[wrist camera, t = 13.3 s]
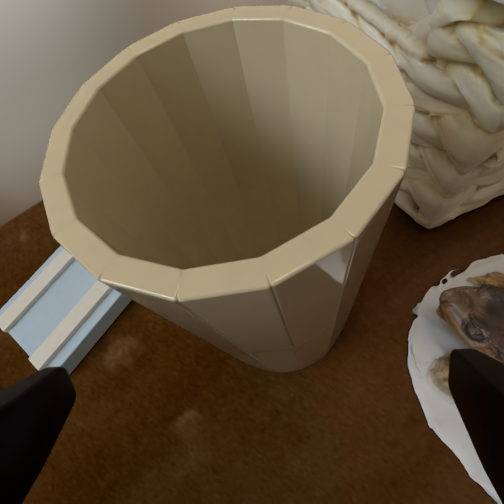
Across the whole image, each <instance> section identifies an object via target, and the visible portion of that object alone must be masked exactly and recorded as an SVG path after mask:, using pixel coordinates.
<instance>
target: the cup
mask: <svg viewBox="0 0 504 504" xmlns="http://www.w3.org/2000/svg"><path fill="white" fill-rule="evenodd" d="M415 110H416V109H415V103H414V100H413V98H412V96H411V94H410V92H409V89H408V87H407V85H406V83H405V81H404V78H403V76H402V74H401V72H400V70H399V68H398V65H397V63H396V61H395V59H394V57H393V55H392V54H391V53H390V51H388V50H387V49H386V48H384V47H383V46H382V45H380V44H379V43H378V42H376V41H375V40H374V39H372V38H371V37H369V36H368V35H367V34H365V33H364V32H363V31H361V30H360V29H359V28H357V27H356V26H355V25H353V24H352V23H351V22H349V21H346V20H345V19H341V18H338V17H334V16H330V15H326V14H323V13H319V12H315V11H312V10H308V9H304V8H300V7H297V6H293V7H292V6H291V5H278V6H236V7H235V8H234V7H231V8H227V9H223V10H219V11H215V12H212V13H207V14H203V15H199V16H196V17H192V18H188V19H184V20H180V21H179V22H175V23H173V24H171V25H169V26H167V27H165V28H163V29H161V30H159V31H157V32H155V33H153V34H151V35H149V36H148V37H145V38H143V39H141V40H139V41H137V42H135V43H133V44H132V45H129V46H128V48H126V49H124V50H123V51H122V52H121V53H119V54H118V55H117V56H116V57H114V58H113V59H112V60H111V61H110V62H109V63H107V64H106V65H105V66H104V67H103V68H101V69H100V70H99V71H98V72H97V73H95V74H94V75H93V76H92V77H91V78H90V79H88V80H87V81H86V82H85V83H84V85H82V86H81V88H80V89H79V90H78V92H77V93H76V95H75V96H74V98H73V99H72V101H71V102H70V104H69V105H68V107H67V108H66V110H65V111H64V112H63V114H62V115H61V117H60V118H59V120H58V121H57V123H56V124H55V126H54V127H53V130H52V131H51V135H50V139H49V142H48V147H47V151H46V155H45V159H44V163H43V167H42V171H41V175H40V180H39V181H40V183H39V185H40V189H41V193H42V197H43V202H44V206H45V210H46V214H47V218H48V222H49V226H50V230H51V234H52V235H53V237H54V239H55V240H56V241H57V242H58V243H59V244H60V245H61V246H62V247H63V248H64V249H65V250H66V251H68V252H69V253H70V254H71V255H72V256H73V257H74V258H75V259H76V260H77V261H78V262H79V263H80V264H81V265H82V266H83V267H84V268H85V269H86V270H87V271H88V272H89V273H90V274H91V275H92V276H93V277H94V278H95V279H96V280H98V281H100V282H101V283H103V284H105V285H107V286H109V287H110V288H112V289H114V290H116V291H118V292H119V293H121V294H123V295H125V296H127V297H128V298H130V299H132V300H134V301H136V302H137V303H139V304H141V305H143V306H145V307H146V308H148V309H150V310H152V311H154V312H155V313H157V314H159V315H161V316H162V317H164V318H166V319H168V320H170V321H171V322H173V323H175V324H177V325H179V326H180V327H182V328H184V329H186V330H188V331H189V332H191V333H193V334H195V335H197V336H198V337H200V338H202V339H204V340H206V341H207V342H209V343H211V344H213V345H214V346H216V347H218V348H220V349H222V350H223V351H225V352H227V353H229V354H231V355H232V356H234V357H236V358H238V359H240V360H241V361H243V362H245V363H247V364H249V365H251V366H255V367H258V368H260V369H263V370H267V371H271V372H291V371H296V370H300V369H303V368H306V367H308V366H310V365H312V364H314V363H315V362H317V361H318V360H320V359H321V358H322V357H323V356H325V355H326V354H327V353H328V352H329V350H330V349H331V348H332V347H333V345H334V344H335V342H336V340H337V339H338V337H339V336H340V334H341V333H342V330H343V328H344V325H345V323H346V320H347V318H348V315H349V313H350V310H351V308H352V305H353V303H354V300H355V298H356V295H357V293H358V291H359V288H360V286H361V283H362V281H363V278H364V276H365V273H366V271H367V268H368V266H369V263H370V261H371V258H372V256H373V253H374V251H375V248H376V246H377V243H378V241H379V238H380V236H381V233H382V231H383V228H384V226H385V223H386V221H387V218H388V216H389V213H390V211H391V208H392V206H393V203H394V201H395V198H396V196H397V193H398V191H399V188H400V186H401V183H402V181H403V178H404V176H405V174H406V171H407V167H408V160H409V152H410V145H411V138H412V131H413V124H414V117H415Z"/></svg>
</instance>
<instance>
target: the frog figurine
mask: <svg viewBox="0 0 504 504" xmlns="http://www.w3.org/2000/svg"><path fill="white" fill-rule="evenodd" d="M456 270H457V269H456ZM452 271H454V270H452ZM452 271H450V272H449V273H448V274H447V275H446V276H445V277H444V278H443V279H447V282H446V283H445V284H442V280H443V279H442V280H441V281H440V284H439V285H438V286H432V287H431V288H430V289H429V290H428V291H427V293H426V294H425V296H424V298H423V300H422V302H421V303H418V304H417V306H416V307H415V308H413V313H414V314H416V315H418V317H417V318H416V319H414V322H413V324H412V326H411V329H410V331H409V337H408V341H409V344H408V347H409V349H408V350H409V351H408V369H409V373H410V374H411V377H412V384H413V386H414V390H415V393H416V394H417V396H418V398H419V401H420V403H421V406H422V409H423V411H424V413H425V417H426V419H427V421H428V426H429V427H430V428H432V429H433V430H434V431H435V433H436V434H437V435H438V436H439V438H440V439H441V440H442V441H443V442H444V443H445V444H446V445H447V446H448V447H449V448H450V449H451V450H452V451H453V452H454V454H455V455H456V456H457V457H458V458H459V459H460V461H461V463H462V464H463V465H464V467H465V469H466V471H467V472H468V474H469V476H470V477H471V478H472V479H473V480H474V481H476V482H477V483H479V484H480V485H481V486H482V487H483V488H484V490H485V491H486V492H487V493H488V494H489V495H490V496H491V497H492V498H493V499H494V500H495V501H496V502H497V503H498V504H502V502H501V500H500V498H499V496H498V495H497V493H496V491H495V489H494V487H493V485H492V484H491V482H490V480H489V478H488V476H487V474H486V472H485V470H484V468H483V466H482V464H481V462H480V460H479V457H478V455H477V453H476V451H475V448H474V446H473V444H472V441H471V439H470V437H469V435H468V432H467V430H466V428H465V425H464V423H463V421H462V418H461V416H460V414H459V411H458V409H457V407H456V404H455V402H454V400H453V398H452V395H451V393H450V390H449V385H448V375H449V362H450V354H451V351H452V350H454V349H467V348H473V349H476V350H478V351H480V352H482V353H484V354H486V355H488V356H490V357H492V358H494V359H496V360H498V361H500V362H502V363H504V254H500V255H496V256H491V257H488V258H486V259H481V260H476V261H475V262H472V263H471V264H470V266H469V267H468V268H467V270H465V271H464V272H462V273H460V274H458V275H456V276H455V277H452V276H451V272H452Z"/></svg>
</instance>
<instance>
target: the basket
mask: <svg viewBox="0 0 504 504" xmlns="http://www.w3.org/2000/svg"><path fill="white" fill-rule="evenodd" d="M286 2H287V4H289V5H291V6H292V7H293V6H297V7H300V8H304V9H308V10H312V11H315V12H319V13H323V14H326V15H330V16H334V17H338V18H341V19H345V20H346V21H349V22H351V23H352V24H353V25H355V26H356V27H357V28H359V29H360V30H361V31H363V32H364V33H365V34H367V35H368V36H369V37H371V38H372V39H374V40H375V41H376V42H378V43H379V44H380V45H382V46H383V47H384V48H386V49H387V50H388V51H390V53H391V54H392V55H393V57H394V59H395V61H396V63H397V65H398V68H399V70H400V72H401V74H402V76H403V78H404V81H405V83H406V85H407V87H408V89H409V92H410V94H411V96H412V98H413V100H414V103H415V109H416V110H415V117H414V124H413V131H412V138H411V145H410V152H409V160H408V167H407V171H406V174H405V176H404V178H403V181H402V183H401V186H400V188H399V191H398V193H397V196H396V198H395V201H394V202H395V204H396V205H397V206H399V207H400V208H401V209H402V210H403V211H405V212H406V213H407V214H408V215H410V216H411V217H412V218H413V219H414V220H415V221H416V222H417V223H419V224H420V225H422V226H423V227H425V228H427V229H431V228H434V227H437V226H441V225H443V224H444V223H446V222H447V221H449V220H451V219H453V220H454V218H455V217H457V216H459V215H461V214H463V213H465V212H469V211H471V210H473V209H475V208H478V207H480V206H482V205H484V204H486V203H487V202H489V201H490V200H491V199H492V198H495V197H498V196H500V195H503V194H504V0H286Z"/></svg>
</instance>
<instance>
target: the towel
mask: <svg viewBox="0 0 504 504" xmlns="http://www.w3.org/2000/svg"><path fill="white" fill-rule="evenodd" d="M131 300H132V299H130V298H128V297H127V296H125V295H123V294H121V293H119V292H118V291H116V290H114V289H112V288H110V287H109V286H107V285H105V284H103V283H101V282H100V281H98V280H96V279H95V278H94V277H93V276H92V275H91V274H90V273H89V272H88V271H87V270H86V269H85V268H84V267H83V266H82V265H81V264H80V263H79V262H78V261H77V260H76V259H75V258H74V257H73V256H72V255H71V254H70V253H69V252H68V251H66V250H65V249H64V248H63V247H62V246H60V247H59V248H58V249H57V250H56V251H55V252H54V253H53V255H52V256H51V257H50V258H49V259H48V260H47V261H46V262H45V263H44V264H43V265H42V266H41V267H40V268H39V269H38V270H37V271H36V272H35V274H34V275H33V276H32V277H31V278H30V279H29V280H28V281H27V282H26V283H25V284H24V285H23V286H22V287H21V288H20V289H19V290H18V292H17V293H16V294H15V295H14V296H13V297H12V298H11V299H10V300H9V301H8V302H7V303H6V304H5V305H4V306H3V307H2V308H1V310H0V328H1V329H2V330H3V331H4V332H9V334H10V335H11V336H12V337H13V338H14V339H15V340H16V341H17V343H18V344H19V345H20V346H21V347H22V348H23V349H24V350H25V351H26V353H27V354H28V355H29V356H30V358H29V359H28V360H29V361H30V362H31V363H32V364H33V365H34V366H35V367H36V369H37V370H39V371H40V370H42V369H44V368H47V367H57V366H61V367H64V368H65V369H67V371H68V374H69V375H70V374H71V373H72V371H73V370H74V369H75V368H76V367H77V365H78V364H79V363H80V362H81V361H82V359H83V358H84V357H85V356H86V354H87V353H88V352H89V351H90V350H91V348H92V347H93V346H94V345H95V344H96V342H97V341H98V340H99V339H100V338H101V336H102V335H103V334H104V333H105V332H106V330H107V329H108V328H109V327H110V325H111V324H112V323H113V322H114V321H115V319H116V318H117V317H118V316H119V315H120V313H121V312H122V311H123V310H124V309H125V307H126V306H127V305H128V304H129V303H130V301H131Z"/></svg>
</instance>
